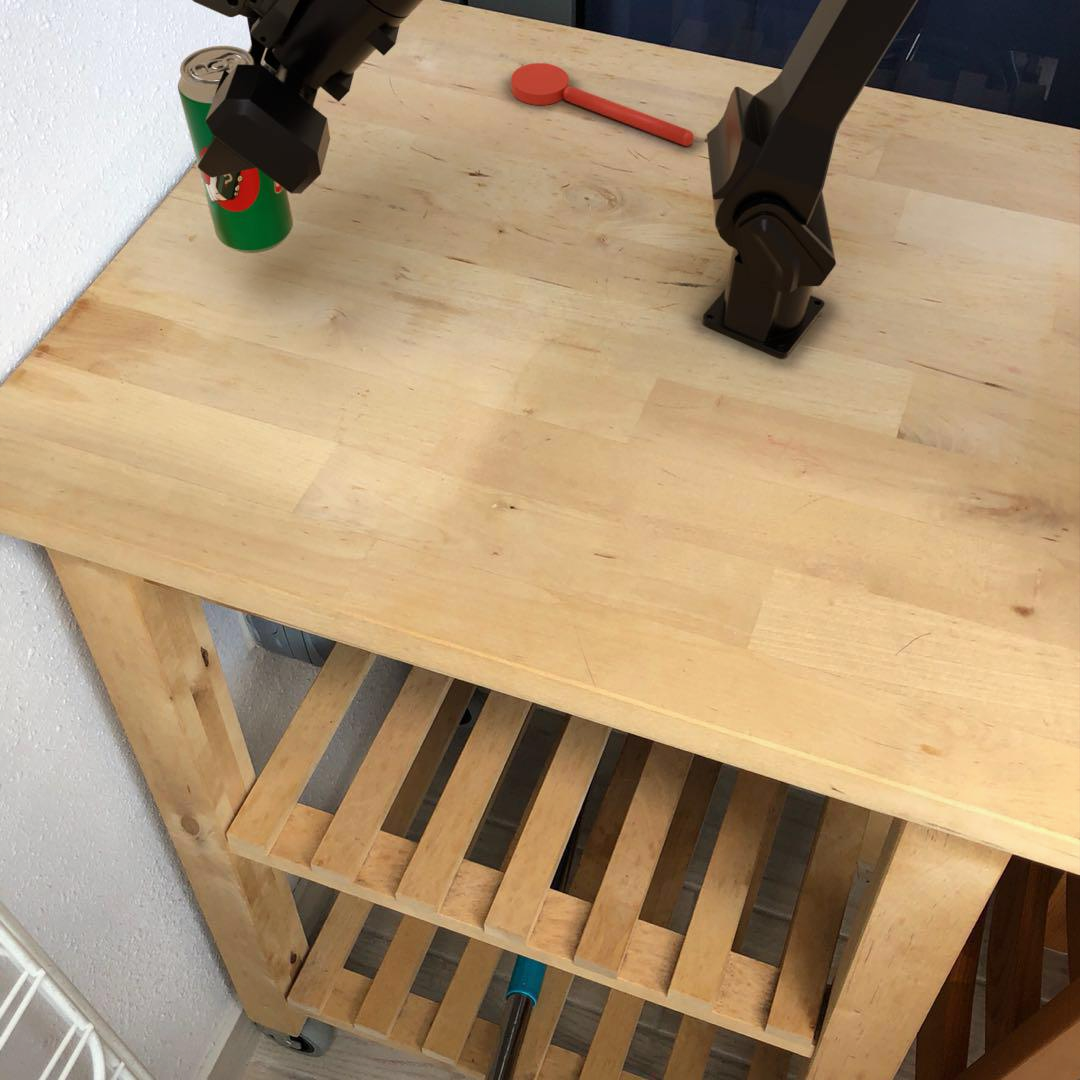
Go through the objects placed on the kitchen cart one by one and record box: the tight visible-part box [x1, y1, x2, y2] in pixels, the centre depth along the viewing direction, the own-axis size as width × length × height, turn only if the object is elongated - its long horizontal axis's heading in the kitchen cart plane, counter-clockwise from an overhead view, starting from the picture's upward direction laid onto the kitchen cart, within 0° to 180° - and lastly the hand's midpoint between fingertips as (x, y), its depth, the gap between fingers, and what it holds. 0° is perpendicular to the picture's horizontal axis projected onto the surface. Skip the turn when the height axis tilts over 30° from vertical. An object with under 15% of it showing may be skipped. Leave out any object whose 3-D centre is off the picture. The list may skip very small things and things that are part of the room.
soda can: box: [177, 45, 294, 254], centre depth 74 cm, size 5×5×12 cm
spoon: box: [510, 62, 695, 147], centre depth 97 cm, size 17×5×1 cm, turn 57°
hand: (214, 145), depth 73 cm, fingers closed on soda can, 5 cm apart
